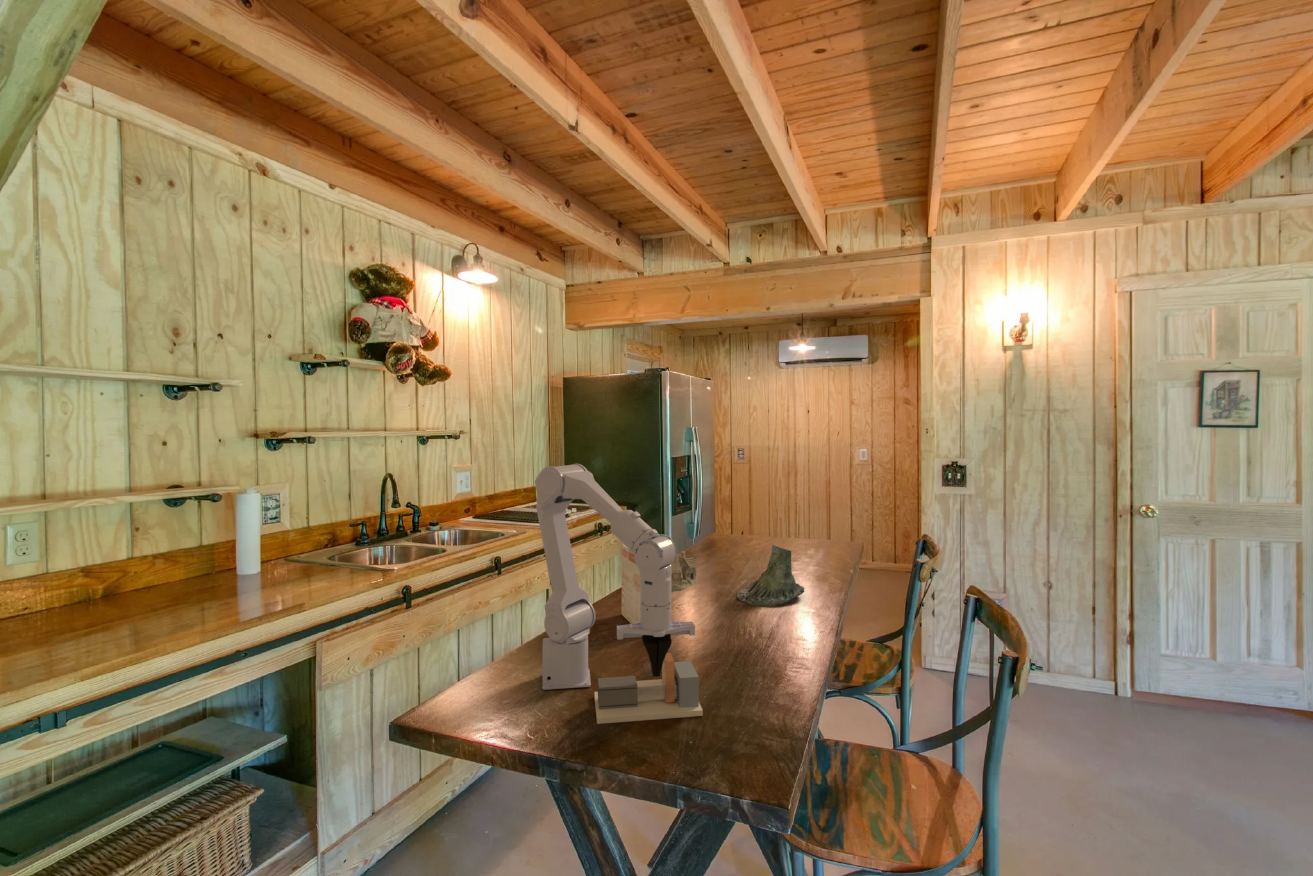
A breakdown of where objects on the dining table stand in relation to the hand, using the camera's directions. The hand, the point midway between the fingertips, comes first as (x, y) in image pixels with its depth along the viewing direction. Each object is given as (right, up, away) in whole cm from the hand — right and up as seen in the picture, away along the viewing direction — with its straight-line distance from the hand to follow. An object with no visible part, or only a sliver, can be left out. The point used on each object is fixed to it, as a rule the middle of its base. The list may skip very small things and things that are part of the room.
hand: (655, 674), depth 109 cm
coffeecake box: (-4, -5, +45) cm, 46 cm away
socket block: (+6, -5, +1) cm, 7 cm away
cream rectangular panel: (-2, -6, 0) cm, 6 cm away
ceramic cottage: (+6, -4, +81) cm, 81 cm away
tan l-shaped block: (0, -5, 0) cm, 5 cm away
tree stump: (+34, -4, +67) cm, 76 cm away
